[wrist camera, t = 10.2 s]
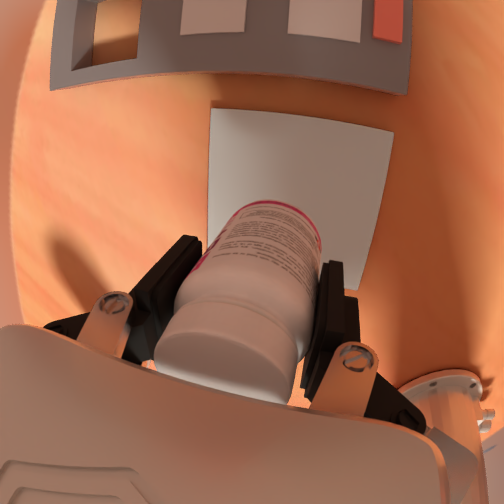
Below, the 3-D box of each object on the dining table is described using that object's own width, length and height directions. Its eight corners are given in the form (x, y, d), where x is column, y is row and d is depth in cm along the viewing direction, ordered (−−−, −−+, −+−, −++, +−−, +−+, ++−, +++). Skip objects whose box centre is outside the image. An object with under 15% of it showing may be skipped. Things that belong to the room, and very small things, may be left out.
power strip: (403, -21, 11) (413, -37, 9) (397, 95, 16) (409, 95, 13) (77, -1, 16) (53, -4, 13) (69, 88, 20) (44, 91, 18)
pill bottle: (224, 192, 14) (122, 300, 7) (327, 202, 13) (322, 336, 6) (226, 277, 17) (159, 406, 9) (315, 289, 16) (295, 437, 8)
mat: (392, 132, 17) (394, 132, 17) (357, 286, 23) (357, 290, 23) (213, 108, 19) (211, 108, 19) (209, 259, 25) (207, 262, 25)
